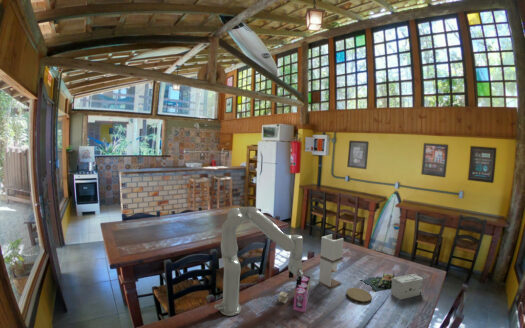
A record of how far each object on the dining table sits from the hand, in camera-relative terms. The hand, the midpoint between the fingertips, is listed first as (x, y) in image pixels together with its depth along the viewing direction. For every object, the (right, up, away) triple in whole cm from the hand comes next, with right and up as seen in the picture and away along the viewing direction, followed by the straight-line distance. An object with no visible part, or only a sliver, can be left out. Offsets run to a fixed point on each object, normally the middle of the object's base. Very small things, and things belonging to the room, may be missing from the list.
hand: (294, 281), depth 172 cm
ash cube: (-7, -9, +2) cm, 12 cm away
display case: (+28, -14, +25) cm, 40 cm away
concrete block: (+78, -17, +13) cm, 81 cm away
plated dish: (+71, -16, +29) cm, 78 cm away
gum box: (+4, -14, +1) cm, 15 cm away
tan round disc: (+44, -16, +9) cm, 47 cm away
